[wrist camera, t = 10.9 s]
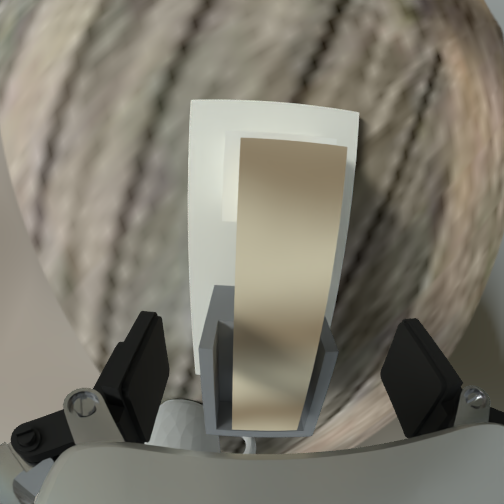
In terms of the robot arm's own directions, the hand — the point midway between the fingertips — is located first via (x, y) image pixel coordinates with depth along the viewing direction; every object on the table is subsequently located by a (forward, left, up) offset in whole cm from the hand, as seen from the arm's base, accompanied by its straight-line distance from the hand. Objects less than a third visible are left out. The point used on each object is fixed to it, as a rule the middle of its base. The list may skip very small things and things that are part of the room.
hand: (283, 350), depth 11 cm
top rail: (+1, 0, -7) cm, 7 cm away
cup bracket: (+1, 0, -13) cm, 13 cm away
